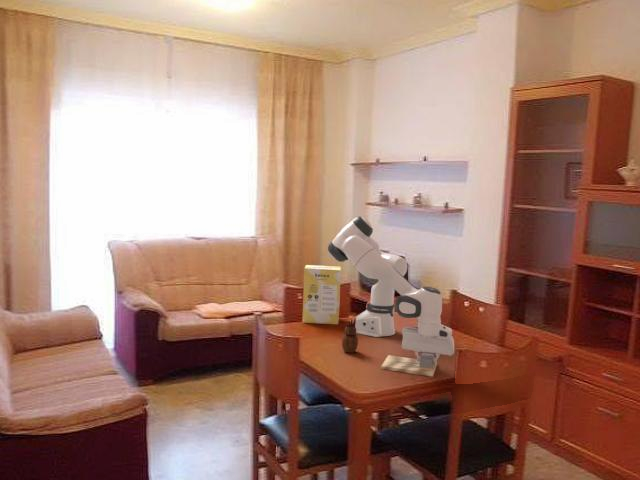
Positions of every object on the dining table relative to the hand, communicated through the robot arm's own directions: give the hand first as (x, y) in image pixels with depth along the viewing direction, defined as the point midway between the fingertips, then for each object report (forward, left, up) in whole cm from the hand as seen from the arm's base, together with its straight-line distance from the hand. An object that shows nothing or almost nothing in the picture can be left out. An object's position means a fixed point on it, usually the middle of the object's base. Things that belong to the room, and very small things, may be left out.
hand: (426, 362), depth 211 cm
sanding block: (0, 0, -1) cm, 1 cm away
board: (-7, 0, -3) cm, 7 cm away
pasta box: (-61, +50, -3) cm, 79 cm away
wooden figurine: (-34, +8, -3) cm, 35 cm away
